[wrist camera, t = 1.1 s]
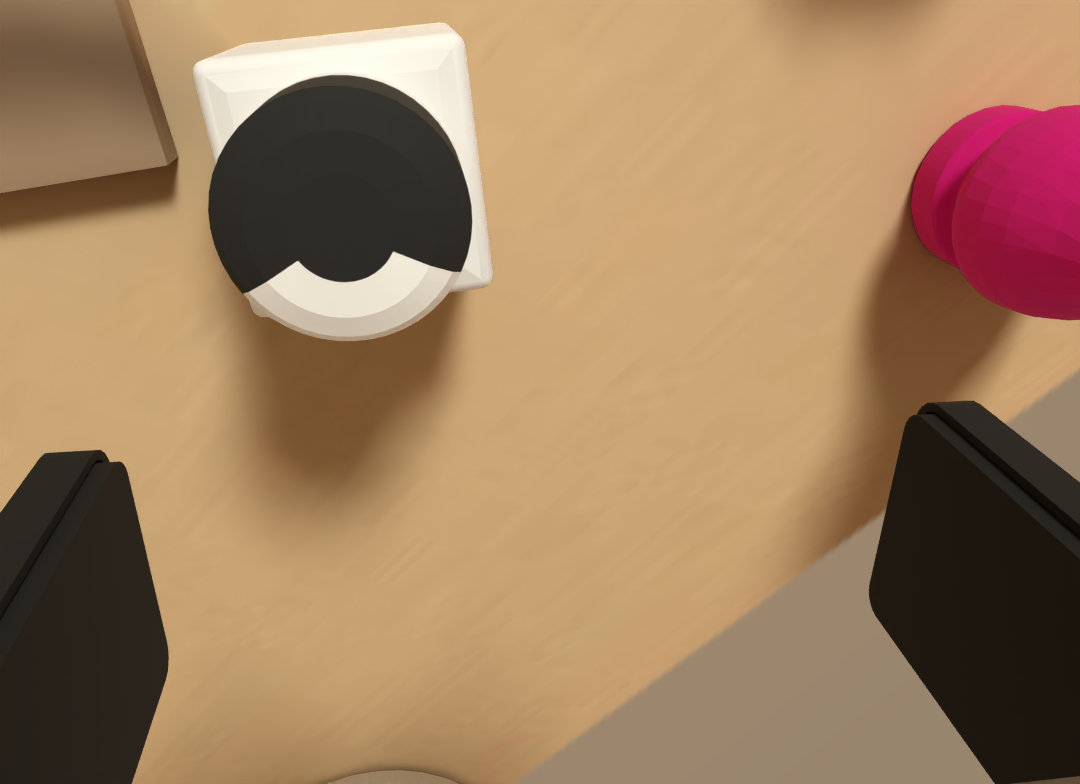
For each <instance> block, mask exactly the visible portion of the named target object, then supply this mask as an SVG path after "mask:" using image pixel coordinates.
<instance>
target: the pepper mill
mask: <svg viewBox="0 0 1080 784" xmlns="http://www.w3.org/2000/svg"><path fill="white" fill-rule="evenodd" d="M911 210H912V216H913V222H914V227H915V229H916V232H917V234H918V236H919V238H920V240H921V241H922V243H923V244H924V246H925V247H926V248H927V249H928V250H929V251H930V252H931V253H932V254H934V255H935V256H936V257H938V258H940V259H942V260H943V261H945V262H947V263H949V264H951V265H953V266H955V267H957V268H959V269H961V271H962V273H963V274H964V276H965V278H966V279H967V281H968V282H969V283H970V284H971V285H972V286H973V287H974V288H975V289H976V290H977V291H978V292H979V293H980V294H982V295H983V296H984V297H986V298H987V299H988V300H990V301H992V302H994V303H996V304H998V305H1001V306H1003V307H1006V308H1008V309H1011V310H1014V311H1016V312H1019V313H1022V314H1025V315H1029V316H1033V317H1041V318H1050V319H1060V320H1080V105H1073V106H1061V107H1057V108H1053V109H1050V110H1047V111H1038V110H1034V109H1029V108H1024V107H1019V106H1008V105H1001V106H995V107H990V108H985V109H983V110H980V111H978V112H975V113H973V114H970V115H968V116H966V117H965V118H963V119H962V120H960V121H958V122H957V123H955V124H954V125H953V126H951V127H950V128H949V129H948V130H947V131H946V132H945V133H944V134H943V135H942V136H941V137H940V138H939V139H938V140H937V142H936V143H935V144H934V145H933V146H932V148H931V149H930V151H929V153H928V154H927V156H926V157H925V159H924V161H923V162H922V165H921V167H920V169H919V171H918V174H917V176H916V179H915V182H914V188H913V194H912V202H911Z"/></svg>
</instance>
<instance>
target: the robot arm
mask: <svg viewBox="0 0 1080 784" xmlns="http://www.w3.org/2000/svg"><path fill="white" fill-rule="evenodd" d="M869 598H870V603H871V607H872V610H873V612H874V614H875V616H876V617H877V619H878V620H879V621H880V623H881V624H882V626H883V627H884V628H885V630H886V631H887V633H888V634H889V635H890V637H891V638H892V640H893V641H894V642H895V644H896V645H897V647H898V648H899V650H900V651H901V652H902V654H903V655H904V657H905V658H906V659H907V661H908V662H909V664H910V665H911V666H912V668H913V669H914V671H915V672H916V673H917V675H918V676H919V678H920V679H921V681H922V682H923V683H924V685H925V686H926V688H927V689H928V690H929V692H930V693H931V695H932V696H933V697H934V699H935V700H936V701H937V703H938V704H939V706H940V707H941V709H942V710H943V711H944V713H945V714H946V716H947V717H948V718H949V720H950V721H951V723H952V724H953V726H954V727H955V728H956V730H957V731H958V733H959V734H960V735H961V737H962V738H963V740H964V741H965V742H966V744H967V745H968V747H969V748H970V749H971V751H972V752H973V754H974V755H975V756H976V758H977V759H978V761H979V762H980V764H981V765H982V766H983V768H984V769H985V771H986V772H987V773H988V775H989V776H990V778H991V779H992V780H993V782H994V783H995V784H1080V482H1079V481H1077V480H1076V479H1074V478H1073V477H1072V476H1071V475H1070V474H1068V473H1067V472H1066V471H1064V470H1063V469H1062V468H1061V467H1059V466H1058V465H1057V464H1056V463H1054V462H1053V461H1052V460H1050V459H1049V458H1048V457H1047V456H1045V455H1044V454H1043V453H1042V452H1040V451H1039V450H1038V449H1036V448H1035V447H1034V446H1033V445H1031V444H1030V443H1029V442H1028V441H1026V440H1025V439H1024V438H1022V437H1021V436H1020V435H1019V434H1017V433H1016V432H1015V431H1014V430H1012V429H1011V428H1010V427H1008V426H1007V425H1006V424H1005V423H1003V422H1002V421H1001V420H999V419H998V418H997V417H996V416H994V415H993V414H992V413H991V412H989V411H988V410H987V409H985V408H984V407H983V406H982V405H980V404H979V403H977V402H975V401H955V402H937V403H927V404H925V405H924V406H922V407H921V409H920V410H919V411H918V413H917V415H913V416H911V417H910V418H909V419H908V421H907V422H906V425H905V428H904V432H903V437H902V441H901V446H900V450H899V455H898V459H897V464H896V468H895V473H894V477H893V481H892V486H891V490H890V495H889V499H888V504H887V508H886V513H885V517H884V522H883V527H882V531H881V536H880V540H879V544H878V549H877V553H876V558H875V562H874V567H873V571H872V576H871V580H870V585H869ZM168 660H169V656H168V645H167V640H166V636H165V632H164V627H163V623H162V619H161V615H160V610H159V606H158V602H157V597H156V593H155V589H154V584H153V580H152V576H151V571H150V567H149V563H148V559H147V554H146V550H145V546H144V541H143V537H142V533H141V528H140V524H139V520H138V515H137V511H136V507H135V503H134V498H133V494H132V490H131V485H130V481H129V477H128V473H127V470H126V467H125V466H124V464H123V463H122V462H109V459H108V458H107V456H106V454H105V453H104V452H103V451H101V450H92V451H74V452H56V453H45V454H44V455H43V456H42V457H40V459H39V460H38V461H37V463H36V464H35V465H34V467H33V468H32V470H31V471H30V472H29V474H28V475H27V477H26V478H25V479H24V481H23V482H22V484H21V485H20V486H19V488H18V489H17V490H16V492H15V493H14V495H13V496H12V497H11V499H10V500H9V502H8V503H7V504H6V506H5V507H4V508H3V510H2V511H1V513H0V784H132V781H133V778H134V775H135V772H136V769H137V766H138V763H139V760H140V757H141V754H142V751H143V748H144V745H145V742H146V739H147V735H148V732H149V729H150V726H151V723H152V720H153V717H154V714H155V711H156V708H157V705H158V702H159V699H160V696H161V693H162V690H163V687H164V684H165V681H166V677H167V672H168ZM327 784H459V783H456V782H454V781H452V780H450V779H447V778H444V777H440V776H436V775H432V774H428V773H424V772H414V771H404V770H391V771H374V772H368V773H362V774H357V775H351V776H348V777H345V778H342V779H339V780H336V781H333V782H330V783H327Z"/></svg>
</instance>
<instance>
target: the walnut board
mask: <svg viewBox="0 0 1080 784" xmlns="http://www.w3.org/2000/svg"><path fill="white" fill-rule="evenodd" d="M176 158H178V155H177V152H176V148H175V145H174V142H173V139H172V136H171V133H170V129H169V126H168V123H167V120H166V117H165V114H164V110H163V107H162V104H161V101H160V98H159V95H158V91H157V88H156V85H155V82H154V79H153V76H152V72H151V69H150V66H149V63H148V60H147V56H146V53H145V50H144V47H143V44H142V41H141V37H140V34H139V31H138V28H137V25H136V22H135V18H134V15H133V12H132V9H131V6H130V3H129V0H0V193H4V192H10V191H16V190H22V189H28V188H34V187H40V186H46V185H52V184H58V183H64V182H70V181H76V180H82V179H89V178H95V177H101V176H107V175H113V174H119V173H125V172H131V171H137V170H143V169H149V168H155V167H161V166H167V165H169V164H170V163H171V162H173V161H174V160H175V159H176Z"/></svg>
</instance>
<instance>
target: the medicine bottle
mask: <svg viewBox="0 0 1080 784" xmlns="http://www.w3.org/2000/svg"><path fill="white" fill-rule="evenodd" d="M193 78H194V82H195V86H196V90H197V94H198V98H199V102H200V106H201V110H202V114H203V118H204V122H205V126H206V130H207V134H208V138H209V142H210V146H211V150H212V154H213V158H214V162H215V168H214V171H213V174H212V179H211V184H210V190H209V207H208V212H209V221H210V229H211V233H212V237H213V241H214V245H215V248H216V250H217V253H218V255H219V257H220V260H221V262H222V264H223V266H224V268H225V269H226V271H227V273H228V274H229V276H230V278H231V280H232V281H233V282H234V283H235V285H236V286H237V287H238V288H239V290H240V291H241V292H242V294H243V295H244V296H245V297H246V298H247V299H248V300H249V301H250V305H251V308H252V310H253V312H254V314H256V315H257V316H259V317H270V318H272V319H273V320H275V321H277V322H279V323H280V324H282V325H284V326H286V327H288V328H290V329H293V330H295V331H297V332H300V333H302V334H306V335H309V336H313V337H316V338H321V339H327V340H334V341H361V340H370V339H375V338H379V337H383V336H387V335H390V334H392V333H395V332H398V331H400V330H403V329H405V328H407V327H408V326H410V325H412V324H414V323H416V322H417V321H419V320H420V319H422V318H423V317H424V316H426V315H427V314H428V313H430V312H431V311H432V310H433V309H434V308H435V307H436V306H437V305H438V304H439V303H440V302H441V301H442V300H443V299H444V298H445V296H446V295H447V294H448V293H449V292H457V291H464V290H472V289H479V288H484V287H486V286H488V285H489V284H490V282H491V281H492V278H493V270H492V262H491V254H490V245H489V237H488V229H487V221H486V213H485V204H484V196H483V188H482V180H481V172H480V163H479V155H478V147H477V139H476V131H475V122H474V114H473V106H472V98H471V90H470V81H469V73H468V65H467V57H466V49H465V44H464V42H463V39H462V38H461V37H460V36H459V35H458V34H457V33H456V32H455V31H454V30H453V29H452V28H451V27H449V26H448V25H447V24H446V23H431V24H422V25H412V26H403V27H394V28H385V29H376V30H366V31H357V32H348V33H339V34H329V35H320V36H311V37H302V38H293V39H283V40H274V41H265V42H256V43H247V44H242V45H239V46H237V47H234V48H232V49H229V50H227V51H224V52H222V53H219V54H217V55H214V56H212V57H209V58H206V59H204V60H201V61H199V62H197V63H196V65H195V66H194V68H193Z"/></svg>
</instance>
